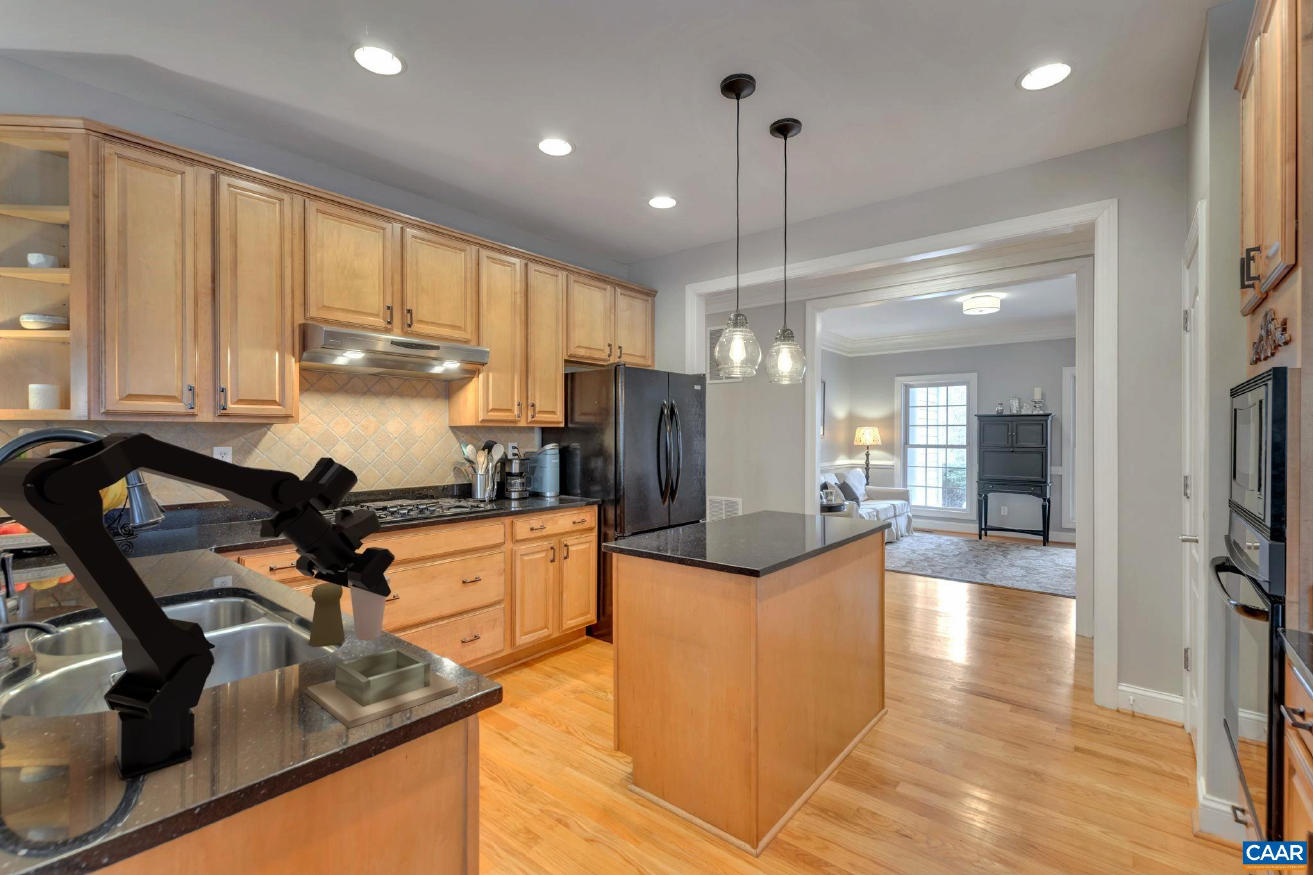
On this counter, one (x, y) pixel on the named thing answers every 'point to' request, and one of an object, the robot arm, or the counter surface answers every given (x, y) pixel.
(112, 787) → the counter surface
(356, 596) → the smoothie
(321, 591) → the cork
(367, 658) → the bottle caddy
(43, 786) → the counter surface
